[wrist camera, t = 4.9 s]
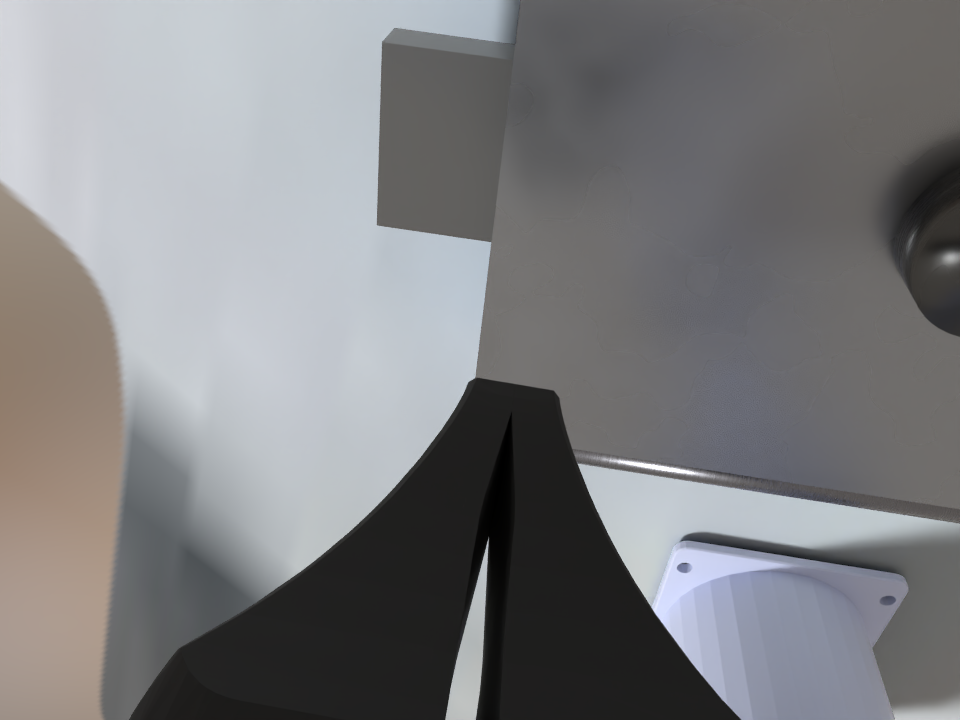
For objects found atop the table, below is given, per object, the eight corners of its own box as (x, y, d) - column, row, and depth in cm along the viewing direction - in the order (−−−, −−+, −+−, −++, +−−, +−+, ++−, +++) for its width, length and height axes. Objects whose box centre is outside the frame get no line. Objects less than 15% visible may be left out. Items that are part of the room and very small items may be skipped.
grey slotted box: (1217, 444, 23) (1317, 549, 20) (400, 321, 24) (370, 402, 21) (1684, -111, 15) (1983, -87, 12) (431, -264, 16) (388, -280, 13)
